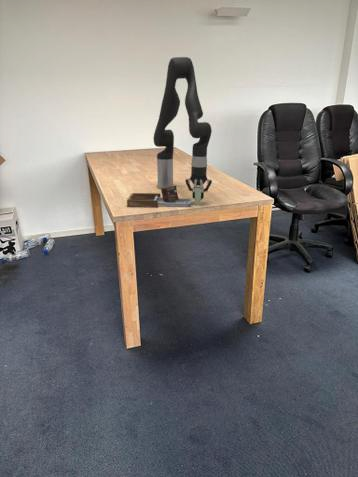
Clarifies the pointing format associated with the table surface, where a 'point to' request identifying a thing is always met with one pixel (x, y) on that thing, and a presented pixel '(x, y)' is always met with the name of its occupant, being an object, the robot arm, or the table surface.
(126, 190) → the table surface
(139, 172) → the table surface
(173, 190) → the box
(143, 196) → the dark brown tray
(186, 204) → the pull frame
